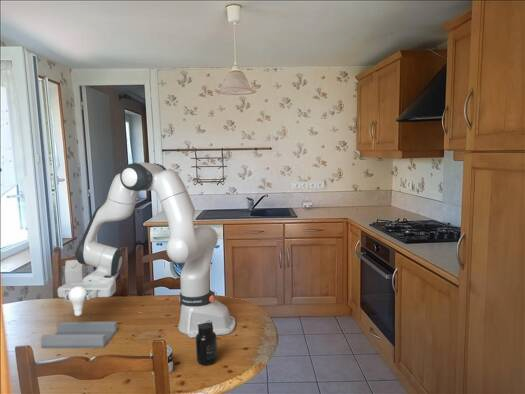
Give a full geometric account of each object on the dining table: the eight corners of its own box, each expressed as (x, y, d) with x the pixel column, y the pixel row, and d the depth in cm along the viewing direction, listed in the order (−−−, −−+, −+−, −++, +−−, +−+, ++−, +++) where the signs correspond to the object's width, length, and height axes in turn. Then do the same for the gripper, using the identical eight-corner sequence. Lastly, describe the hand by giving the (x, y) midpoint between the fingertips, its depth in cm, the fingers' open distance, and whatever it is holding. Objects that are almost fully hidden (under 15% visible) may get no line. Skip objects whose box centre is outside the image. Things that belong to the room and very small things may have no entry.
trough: (117, 331, 143) (116, 321, 142) (103, 347, 131) (102, 337, 130) (60, 331, 143) (59, 321, 143) (41, 348, 131) (40, 337, 131)
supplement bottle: (218, 354, 126) (217, 320, 124) (216, 365, 119) (215, 330, 118) (197, 354, 126) (196, 321, 124) (195, 366, 119) (193, 331, 117)
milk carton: (70, 297, 177) (67, 258, 175) (86, 295, 179) (83, 257, 177) (67, 302, 170) (63, 262, 168) (84, 300, 173) (81, 261, 170)
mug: (168, 377, 113) (167, 357, 112) (147, 376, 114) (146, 355, 113) (180, 359, 123) (179, 340, 122) (161, 358, 124) (160, 339, 123)
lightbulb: (80, 320, 132) (79, 289, 131) (65, 318, 133) (64, 288, 132) (90, 313, 138) (90, 284, 137) (76, 312, 139) (75, 283, 138)
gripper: (67, 276, 147) (47, 289, 134) (118, 276, 147) (103, 289, 134) (69, 291, 148) (48, 306, 135) (119, 291, 148) (104, 306, 134)
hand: (76, 298), depth 134 cm, fingers closed on lightbulb, 6 cm apart
